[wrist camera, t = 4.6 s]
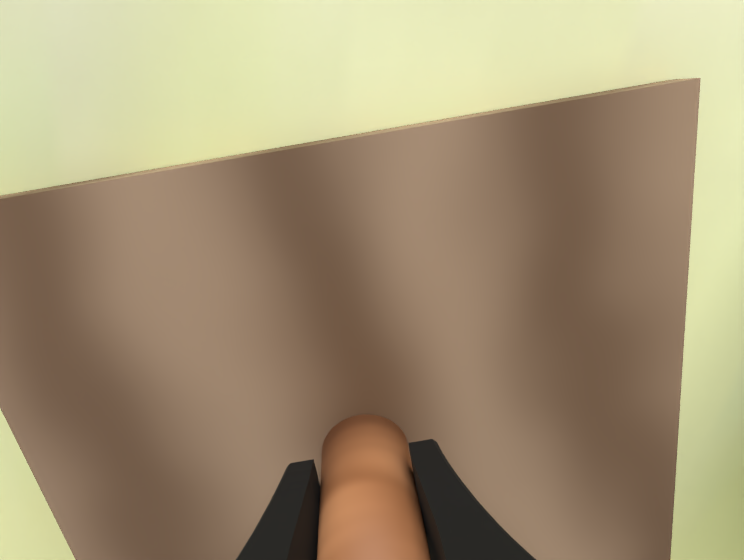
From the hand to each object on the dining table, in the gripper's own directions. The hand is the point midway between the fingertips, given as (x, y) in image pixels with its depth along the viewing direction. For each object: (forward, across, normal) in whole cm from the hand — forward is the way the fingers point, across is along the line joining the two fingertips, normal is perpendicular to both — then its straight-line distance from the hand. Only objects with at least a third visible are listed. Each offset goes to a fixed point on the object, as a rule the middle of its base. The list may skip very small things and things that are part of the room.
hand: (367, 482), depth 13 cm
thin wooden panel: (+2, 0, +10) cm, 10 cm away
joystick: (+1, 0, +6) cm, 6 cm away
